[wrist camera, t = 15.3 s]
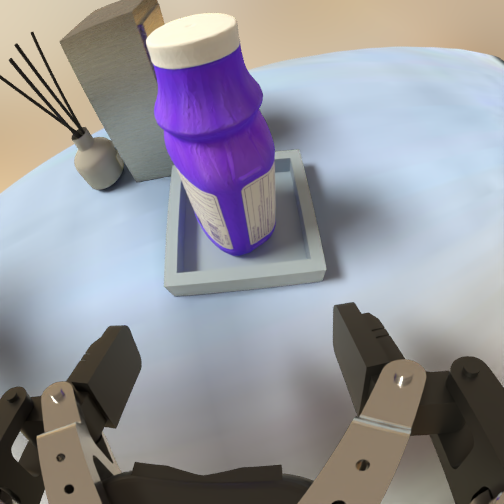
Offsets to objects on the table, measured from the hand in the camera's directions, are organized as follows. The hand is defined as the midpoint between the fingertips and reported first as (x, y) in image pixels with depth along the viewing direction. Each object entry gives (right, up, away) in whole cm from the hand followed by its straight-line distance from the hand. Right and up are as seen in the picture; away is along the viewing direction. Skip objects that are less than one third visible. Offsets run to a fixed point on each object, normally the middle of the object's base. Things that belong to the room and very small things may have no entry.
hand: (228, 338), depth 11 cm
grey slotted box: (-9, +15, +20) cm, 26 cm away
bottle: (0, +6, +15) cm, 16 cm away
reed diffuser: (-17, +12, +20) cm, 28 cm away
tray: (0, +6, +15) cm, 16 cm away
